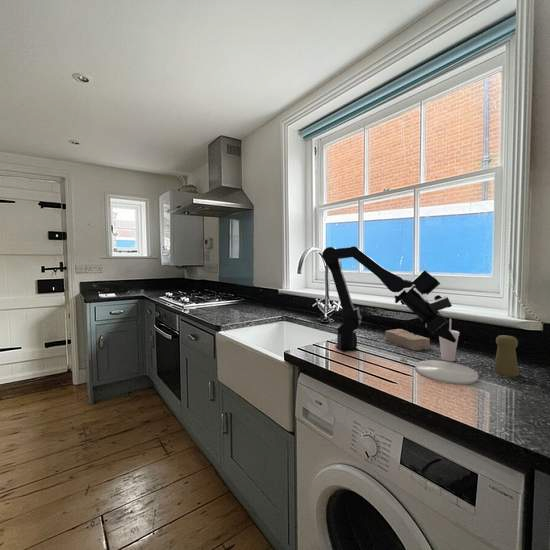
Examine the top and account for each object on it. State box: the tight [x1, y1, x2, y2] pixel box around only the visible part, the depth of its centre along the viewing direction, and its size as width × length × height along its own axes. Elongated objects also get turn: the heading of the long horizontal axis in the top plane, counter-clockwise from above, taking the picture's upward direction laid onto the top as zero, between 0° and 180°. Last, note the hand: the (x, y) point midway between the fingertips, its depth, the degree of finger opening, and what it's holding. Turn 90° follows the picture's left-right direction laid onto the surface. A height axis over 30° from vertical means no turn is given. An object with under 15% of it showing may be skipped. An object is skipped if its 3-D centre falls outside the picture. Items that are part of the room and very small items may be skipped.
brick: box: [385, 328, 431, 351], centre depth 118 cm, size 17×8×5 cm, turn 18°
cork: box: [492, 334, 520, 377], centre depth 87 cm, size 6×6×11 cm
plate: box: [414, 359, 479, 385], centre depth 87 cm, size 16×16×1 cm
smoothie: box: [438, 318, 460, 362], centre depth 99 cm, size 6×6×14 cm
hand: (452, 338), depth 98 cm, fingers open, 9 cm apart
